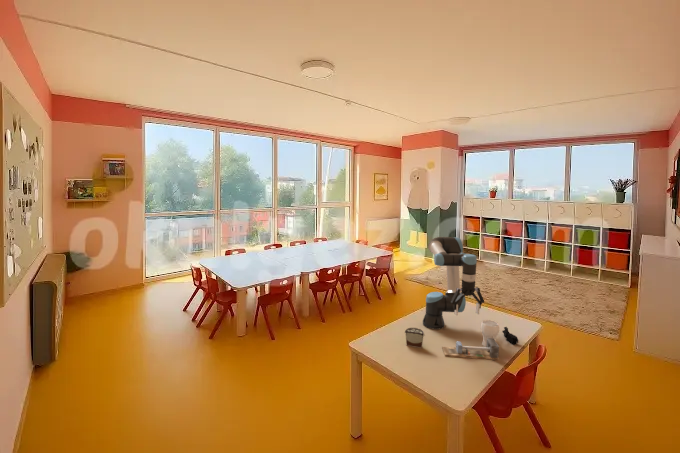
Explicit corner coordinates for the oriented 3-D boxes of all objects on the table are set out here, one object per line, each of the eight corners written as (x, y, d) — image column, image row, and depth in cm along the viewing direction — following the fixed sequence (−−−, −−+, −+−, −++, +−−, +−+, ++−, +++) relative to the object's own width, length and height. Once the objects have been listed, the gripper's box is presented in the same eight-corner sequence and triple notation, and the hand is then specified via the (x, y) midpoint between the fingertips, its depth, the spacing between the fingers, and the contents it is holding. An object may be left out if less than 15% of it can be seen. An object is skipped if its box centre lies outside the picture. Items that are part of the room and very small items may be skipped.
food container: (424, 343, 205) (425, 328, 204) (424, 348, 200) (424, 333, 198) (405, 340, 209) (405, 326, 208) (404, 345, 204) (404, 330, 202)
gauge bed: (444, 356, 191) (445, 343, 189) (442, 348, 199) (442, 335, 198) (498, 359, 187) (499, 346, 185) (492, 351, 196) (493, 338, 194)
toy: (518, 345, 202) (519, 335, 202) (511, 345, 202) (511, 335, 202) (506, 334, 218) (506, 325, 217) (498, 334, 218) (499, 325, 217)
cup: (499, 351, 196) (500, 328, 194) (480, 348, 199) (481, 325, 197) (497, 343, 206) (498, 320, 203) (479, 340, 209) (480, 318, 207)
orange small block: (468, 355, 189) (468, 353, 189) (467, 353, 191) (467, 351, 191) (470, 355, 189) (470, 353, 189) (469, 353, 191) (469, 351, 191)
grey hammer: (458, 354, 190) (458, 346, 189) (455, 348, 196) (456, 341, 196) (492, 356, 187) (493, 348, 186) (489, 350, 194) (489, 343, 193)
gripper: (451, 283, 186) (449, 317, 190) (492, 281, 189) (489, 315, 192) (445, 279, 194) (444, 312, 197) (485, 277, 196) (482, 310, 199)
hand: (466, 314), depth 194 cm, fingers open, 13 cm apart
